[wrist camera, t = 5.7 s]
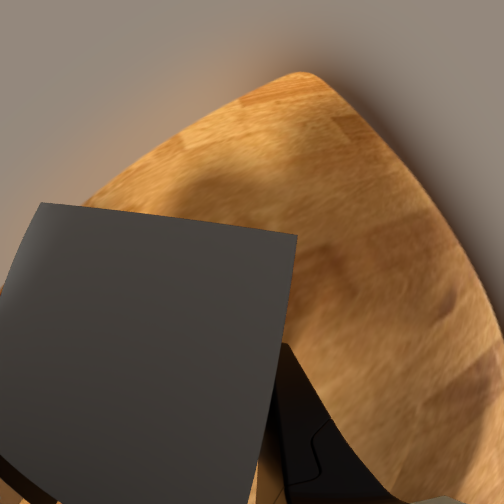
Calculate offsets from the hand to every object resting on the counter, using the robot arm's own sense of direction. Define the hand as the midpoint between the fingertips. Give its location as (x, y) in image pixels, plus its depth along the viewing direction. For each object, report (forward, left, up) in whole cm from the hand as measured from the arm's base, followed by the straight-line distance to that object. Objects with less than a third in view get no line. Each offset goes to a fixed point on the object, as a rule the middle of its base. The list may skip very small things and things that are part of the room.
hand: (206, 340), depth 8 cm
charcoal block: (-1, +1, -7) cm, 7 cm away
